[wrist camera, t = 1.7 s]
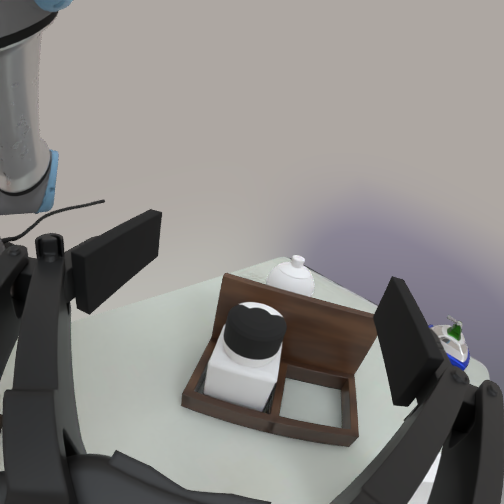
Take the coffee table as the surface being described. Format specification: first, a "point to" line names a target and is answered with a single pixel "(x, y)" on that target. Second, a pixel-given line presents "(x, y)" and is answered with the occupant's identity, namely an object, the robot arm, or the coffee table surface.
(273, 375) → the medicine bottle
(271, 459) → the coffee table surface
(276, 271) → the spinning top
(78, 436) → the robot arm
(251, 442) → the coffee table surface
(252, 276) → the coffee table surface
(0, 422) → the mat
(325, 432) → the rack
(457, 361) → the toy car
